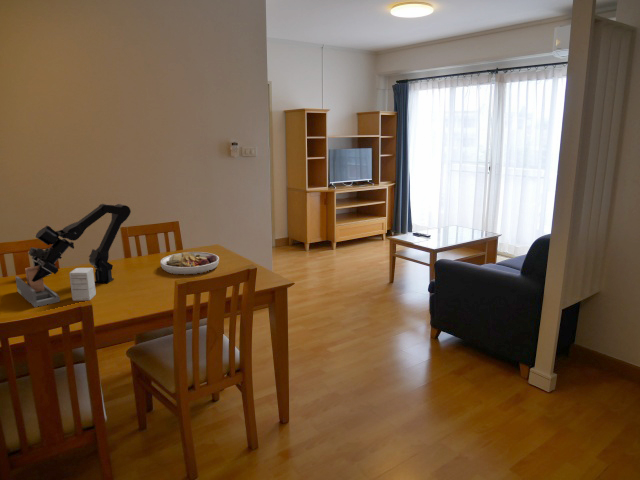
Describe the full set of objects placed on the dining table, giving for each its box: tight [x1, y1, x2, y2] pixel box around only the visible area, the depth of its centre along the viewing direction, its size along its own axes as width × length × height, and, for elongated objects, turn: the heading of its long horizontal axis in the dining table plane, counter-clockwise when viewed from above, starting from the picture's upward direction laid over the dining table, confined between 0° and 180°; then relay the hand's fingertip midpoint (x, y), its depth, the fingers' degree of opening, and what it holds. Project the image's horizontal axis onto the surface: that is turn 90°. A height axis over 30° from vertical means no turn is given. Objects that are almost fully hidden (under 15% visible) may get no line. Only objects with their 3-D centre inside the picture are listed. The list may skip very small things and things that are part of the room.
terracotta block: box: [24, 266, 45, 292], centre depth 200 cm, size 5×5×10 cm
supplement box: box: [68, 267, 97, 302], centre depth 199 cm, size 7×7×13 cm
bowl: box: [160, 251, 220, 276], centre depth 245 cm, size 30×30×8 cm
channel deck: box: [15, 276, 61, 308], centre depth 200 cm, size 26×10×7 cm, turn 46°
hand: (31, 279), depth 199 cm, fingers closed on terracotta block, 5 cm apart
